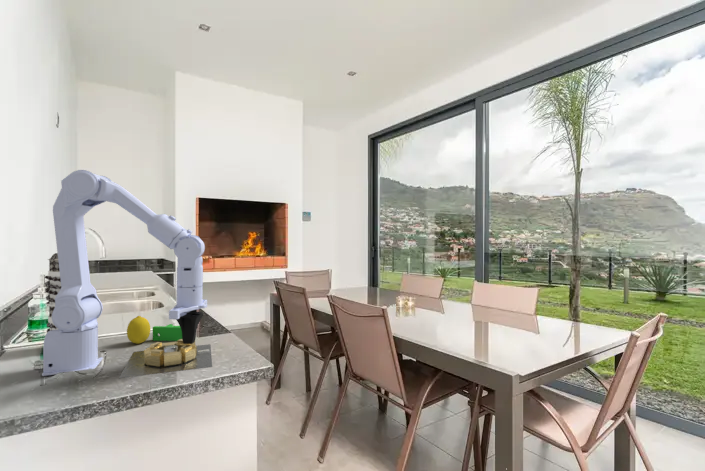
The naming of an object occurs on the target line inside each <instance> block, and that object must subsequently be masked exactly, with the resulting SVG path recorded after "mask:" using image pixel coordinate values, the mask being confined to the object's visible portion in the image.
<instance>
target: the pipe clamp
mask: <svg viewBox="0 0 705 471" xmlns="http://www.w3.org/2000/svg"><path fill="white" fill-rule="evenodd" d="M180 339H182V330H181V327H180V325H173V324H172V323H170V324H167V325H165V326H163V325H162V326H161V325H159V326H157V325H154V326H152V341H154V342H155V341H157V342H160V341H161V342H162V341H163V342H164V341H165V342H176V341H177V340H180Z"/></svg>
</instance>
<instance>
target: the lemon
mask: <svg viewBox="0 0 705 471" xmlns="http://www.w3.org/2000/svg"><path fill="white" fill-rule="evenodd" d="M150 334H151V325H150V322H149V320H148V319H147V318H145V317H143V316H141V315H138V316H136V317H134V318H132V319H131V320H130V321H129V322H128V325H127V329H126V336H127V338H128V340H129V342H131V343H133V344H136V345H139V344H142V343H144V342H146V341H147V340H148V339H149V337H150Z"/></svg>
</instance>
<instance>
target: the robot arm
mask: <svg viewBox="0 0 705 471" xmlns="http://www.w3.org/2000/svg"><path fill="white" fill-rule="evenodd" d="M60 181H61V189H60V191H59V192H58V194H57V195H58V196H57V197H56V199H55V202H54V204H53V205H52V216H53V225H54V232H55V233H54V234H55V242H56V251H57V253H58V262H59V271H60V280H61V289H60V291H59V292H58V294H57V296H56V297H55V308H54V310H53V313H52V321H53V324H54V325H55V326H56V327H57V328H58V330H51V331H48V332H47V331H46V334H45V336H44V340H43V347H42V348H43V355H42V356H43V368H42V373H41V376H42V377H45V376H55V375H57V374H59V373H66V372H67V373H69V372H77V371H87V370H94V369H96V368H97V367H98V365H100V363H101V362H102V360H104V357H99V331H98V330H99V323H98V318H99V317H101V315H102V312H103V308H104V306H103V303H102V301H101V300H100V298H99V296H98V293H97V291H98V290H97V289H96V288H95V287H94V285H93V284H92V282H91V276H90V275H91V274H90V273H91V272H90V266H89V265H90V264H89V256H88V247H87V239H86V237H87V236H86V228H85V219H84V216H85V215H86V214H87V213H88V212H90V211H91V210H92V209H93V208H95V207H96V206H98V205H101V204H103V203H105V202H109V203H114V204H115V205H118V206H119V207H120V208H122V209H124V210H125V211H127V212H128V213H129V214H131V215H133V216H134V217H135V218H136V219H139V220H140V221H141V222H142V223H144V224H146V227H147V232H148V234H150V235H151V236H152V237H154V238H155V239H156V240H158V241H159V242H161V244H162V245H165V246H166V247H167V248H168V249H170V250H173V252H174V255H175V256H176V257H177V266H176V300H175V302H176V303H175V304H176V305H174V306H173V307H172V308H171V309H170V310H168V319H169V320H176V322H177V323H178V326H180V327H181V330H182V340H183V344H193V343H194V342H195V343H196V338H197V329H198V327H199V324H200V322H201V319H202V318H203V317H204V312H203V311H198V310H201V309H206V308H208V299H205V298H204V296H203V295H204V293H203V292H204V291H203V288H204V287H203V285H204V280H203V279H204V277H203V276H204V267H203V261H204V260H203V255H204V254H205V251H206V250H205V249H206V246H205V242H204V241H203V240H202V239H201V238H200V236H199V235H194V234H192V233H193V231H192V230H191V229H189V228H188V229H186V228H185V227H183V226H182V225H181V224H180V223H179V222H177V221H176V220H177V217H175V216H174V215H168V214H166V213H161V214H160V213H159V214H157V213H156V212H155V211H153V210H152V209H151V208H150V207H148V206H147V205H146V204H145V203H144V202H143V201H141V200H140V199H139V198H138V197H136V196H135V195H134V194H133V193H131V192H130V191H128V190H127V189H126V188H125V187H123V186H122V185H121V184H119V183H117V182H115V181H112V180H111V179H110V178H109V177H107V176H105V175H99V174H96V173H93V172H92V171H89V170H87V169H78V170H74V171H72V172H71V173H70V174H68V175H67V176H65V177H64V178H63V179H62V180H60ZM203 298H204V299H203Z"/></svg>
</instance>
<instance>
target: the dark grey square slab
mask: <svg viewBox="0 0 705 471" xmlns="http://www.w3.org/2000/svg"><path fill="white" fill-rule="evenodd" d="M196 346H197V356H196V357H195V358H193V359H191V360H189V361H187V362H181V364H175V365H169V366H164V365H161V366H152V365H146V364H144V350H138V351H133V353H132V355H131V356H130V358H129V360H128V361H127V362H126V365H125V367H124V368H123V370H122V372H121V374H120V375H119V377H118V379H122V378H124V379H125V378H131V377H132V378H133V377H139V376H140V377H141V376H149V375H157V374H166V373H175V372H183V371H189V370H191V371H192V370H199V369H200V370H201V369H206V368H207V369H208V368H212V367H213V362H212V361H213V359H212V348H211V344H210V343H209V344H200V345H199V344H198V345H196ZM175 351H178V346H176V345H170V346H166V347H164V353H168V352H175Z"/></svg>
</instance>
